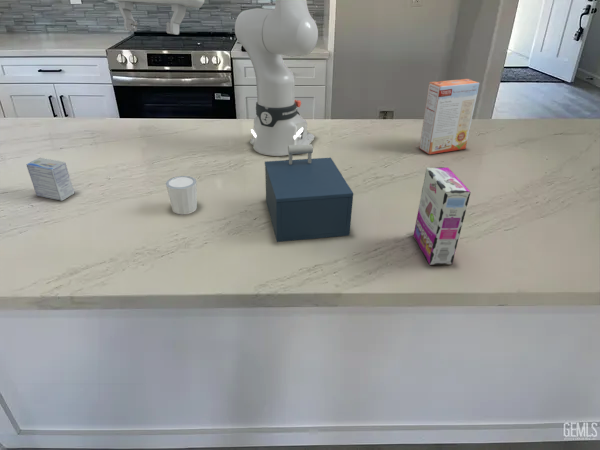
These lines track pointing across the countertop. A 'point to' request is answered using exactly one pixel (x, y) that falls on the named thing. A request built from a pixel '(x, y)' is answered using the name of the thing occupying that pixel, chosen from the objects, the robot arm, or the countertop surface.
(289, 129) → the robot arm
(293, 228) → the dark blue open box
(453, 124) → the cracker box
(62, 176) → the medicine box
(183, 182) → the shot glass
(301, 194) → the lid
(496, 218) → the countertop surface
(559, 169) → the countertop surface
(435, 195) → the candy bar box
